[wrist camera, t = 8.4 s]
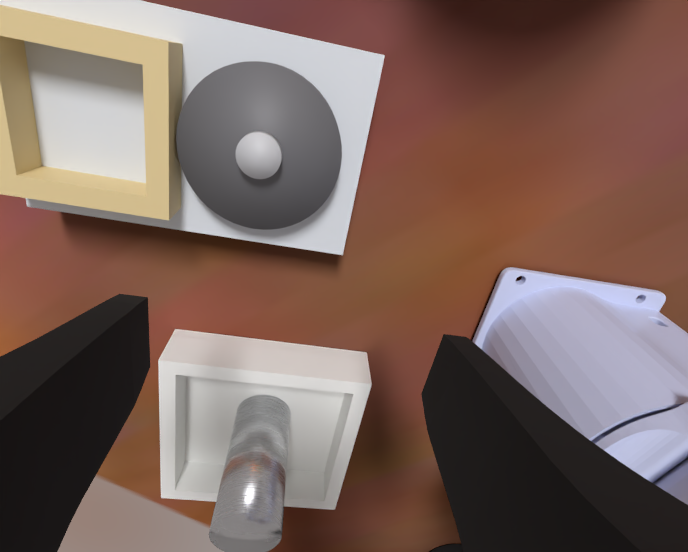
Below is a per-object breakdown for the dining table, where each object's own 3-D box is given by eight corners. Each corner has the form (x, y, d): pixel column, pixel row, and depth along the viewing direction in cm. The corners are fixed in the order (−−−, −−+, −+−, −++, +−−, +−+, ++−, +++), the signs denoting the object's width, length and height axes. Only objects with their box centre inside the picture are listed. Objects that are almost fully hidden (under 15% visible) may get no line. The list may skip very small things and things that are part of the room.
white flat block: (377, 56, 16) (391, 54, 13) (340, 237, 20) (344, 271, 17) (26, -23, 15) (-55, -46, 11) (55, 192, 18) (-1, 220, 15)
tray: (366, 352, 23) (371, 384, 21) (333, 473, 28) (334, 509, 26) (175, 328, 22) (158, 360, 20) (174, 460, 27) (161, 497, 24)
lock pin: (289, 393, 24) (280, 512, 18) (291, 432, 25) (283, 553, 19) (234, 395, 24) (204, 515, 17) (239, 433, 25) (214, 556, 19)
